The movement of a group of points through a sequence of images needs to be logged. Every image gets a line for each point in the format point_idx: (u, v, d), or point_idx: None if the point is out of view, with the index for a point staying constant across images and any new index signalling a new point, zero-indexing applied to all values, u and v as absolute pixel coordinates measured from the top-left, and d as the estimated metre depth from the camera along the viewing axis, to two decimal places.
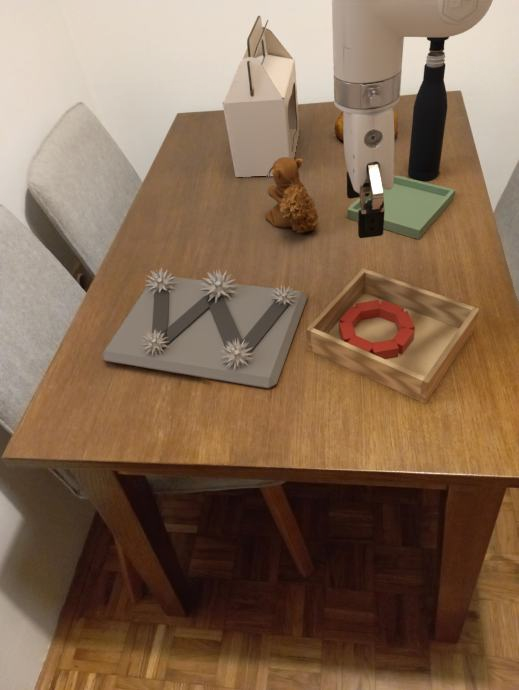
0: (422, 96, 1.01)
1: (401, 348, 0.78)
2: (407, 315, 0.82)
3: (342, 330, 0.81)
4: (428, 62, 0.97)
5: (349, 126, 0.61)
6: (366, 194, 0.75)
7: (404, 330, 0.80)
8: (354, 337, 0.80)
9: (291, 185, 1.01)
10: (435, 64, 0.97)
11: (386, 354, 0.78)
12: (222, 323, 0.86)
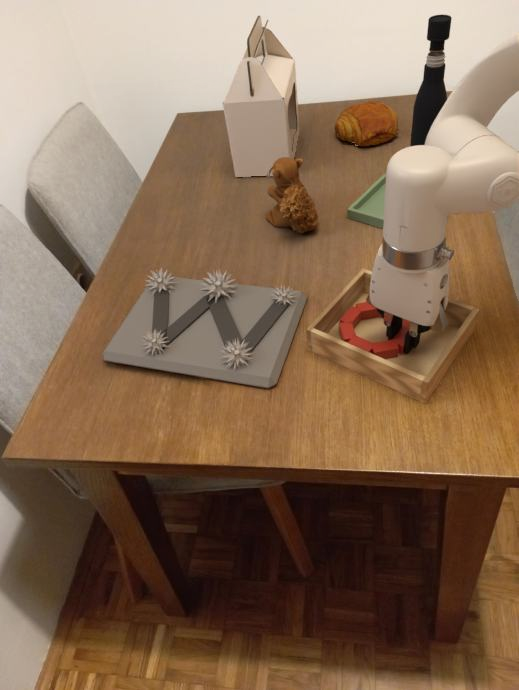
0: (422, 96, 1.01)
1: (401, 348, 0.78)
2: None
3: (342, 330, 0.81)
4: (428, 62, 0.97)
5: (418, 281, 0.67)
6: None
7: (404, 330, 0.80)
8: (354, 337, 0.80)
9: (291, 185, 1.01)
10: (435, 64, 0.97)
11: (386, 354, 0.78)
12: (222, 323, 0.86)
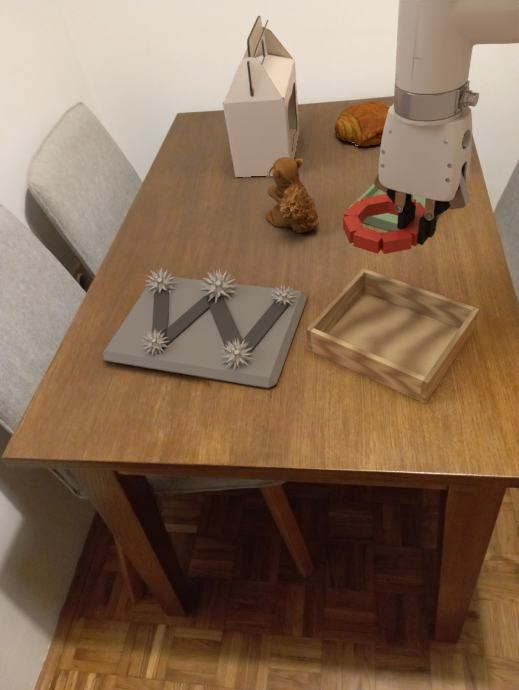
0: None
1: (415, 238, 0.69)
2: (421, 206, 0.72)
3: (347, 223, 0.72)
4: None
5: (436, 139, 0.58)
6: None
7: (418, 220, 0.70)
8: (361, 229, 0.71)
9: (291, 185, 1.01)
10: None
11: (397, 244, 0.69)
12: (222, 323, 0.86)
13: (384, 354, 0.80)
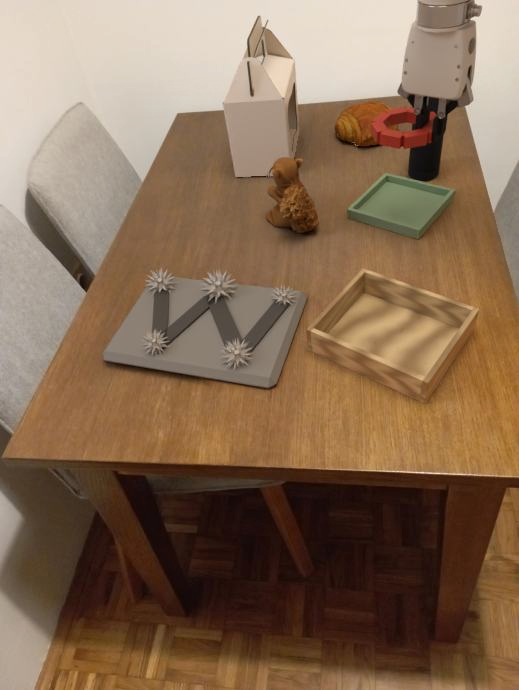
0: None
1: (429, 135, 0.86)
2: (434, 113, 0.90)
3: (374, 126, 0.89)
4: None
5: (449, 44, 0.75)
6: None
7: (432, 123, 0.88)
8: (386, 130, 0.88)
9: (291, 185, 1.01)
10: None
11: (415, 140, 0.86)
12: (222, 323, 0.86)
13: (384, 354, 0.80)
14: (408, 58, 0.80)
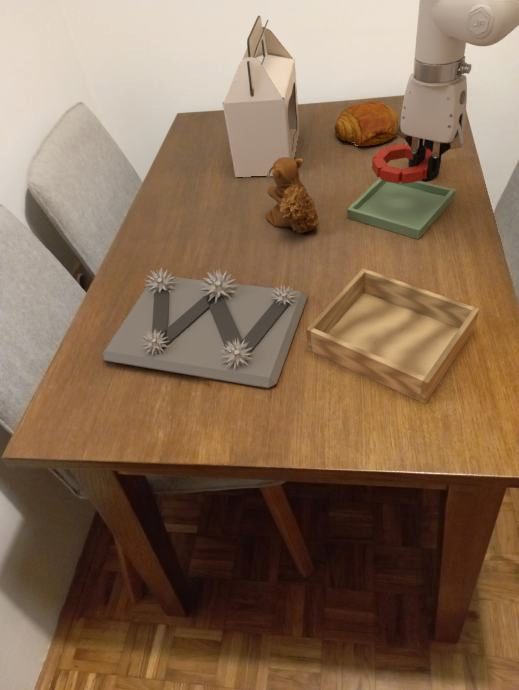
0: None
1: (425, 172, 0.96)
2: (429, 151, 0.99)
3: (375, 162, 0.99)
4: None
5: (442, 96, 0.84)
6: None
7: (427, 160, 0.97)
8: (386, 166, 0.97)
9: (291, 185, 1.01)
10: None
11: (412, 176, 0.95)
12: (222, 323, 0.86)
13: (384, 354, 0.80)
14: (406, 105, 0.89)
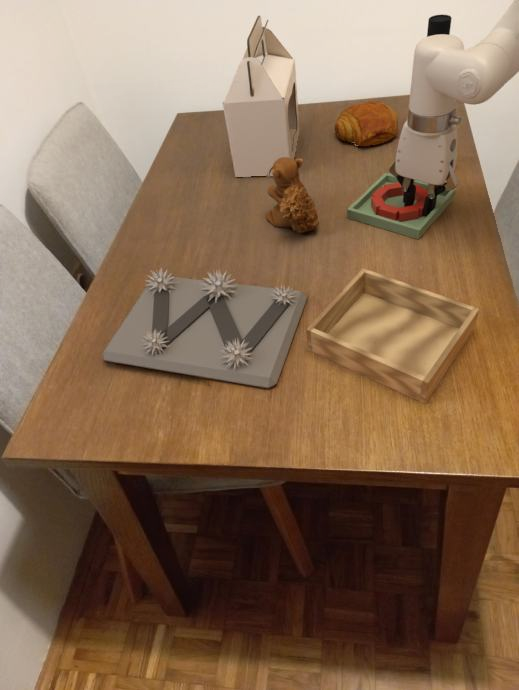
0: None
1: (420, 211, 1.02)
2: (425, 190, 1.05)
3: (374, 201, 1.05)
4: None
5: (434, 144, 0.91)
6: (413, 202, 1.05)
7: (423, 199, 1.03)
8: (384, 205, 1.03)
9: (291, 185, 1.01)
10: None
11: (409, 215, 1.01)
12: (222, 323, 0.86)
13: (384, 354, 0.80)
14: (400, 150, 0.95)
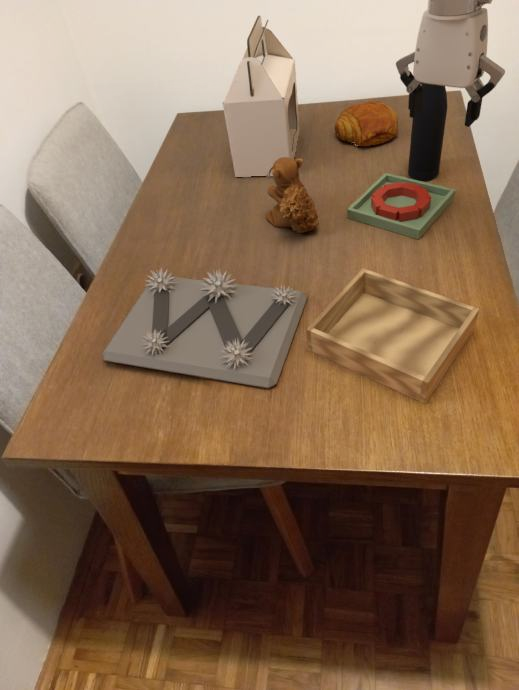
0: None
1: (420, 211, 1.02)
2: (425, 190, 1.05)
3: (374, 201, 1.05)
4: None
5: (460, 32, 0.76)
6: (420, 109, 0.91)
7: (423, 199, 1.03)
8: (384, 205, 1.03)
9: (291, 185, 1.01)
10: None
11: (409, 215, 1.01)
12: (222, 323, 0.86)
13: (384, 354, 0.80)
14: (420, 47, 0.81)
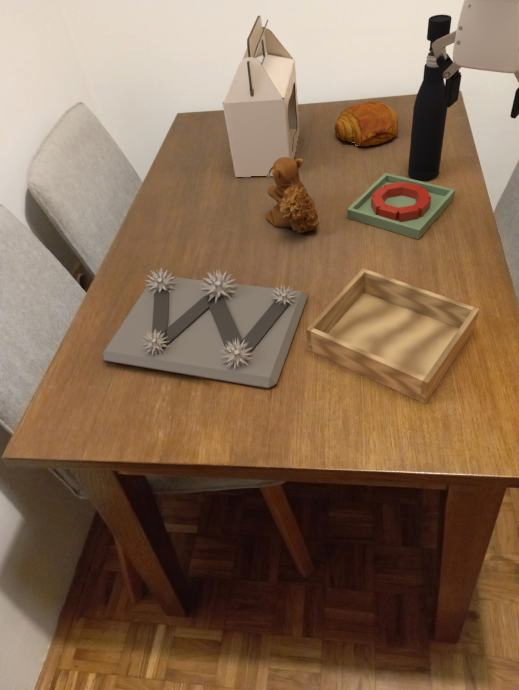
0: (422, 96, 1.01)
1: (420, 211, 1.02)
2: (425, 190, 1.05)
3: (374, 201, 1.05)
4: (428, 62, 0.97)
5: (514, 6, 0.65)
6: (457, 98, 0.80)
7: (423, 199, 1.03)
8: (384, 205, 1.03)
9: (291, 185, 1.01)
10: (435, 64, 0.97)
11: (409, 215, 1.01)
12: (222, 323, 0.86)
13: (384, 354, 0.80)
14: (463, 25, 0.70)
